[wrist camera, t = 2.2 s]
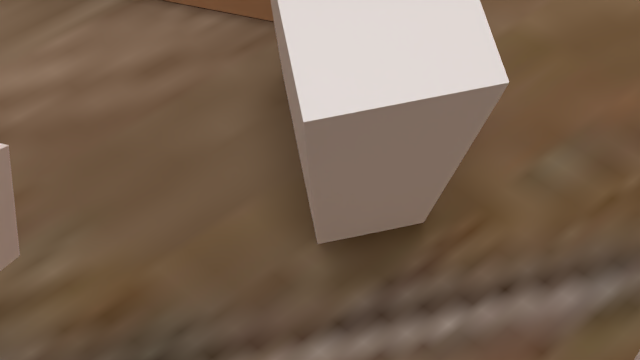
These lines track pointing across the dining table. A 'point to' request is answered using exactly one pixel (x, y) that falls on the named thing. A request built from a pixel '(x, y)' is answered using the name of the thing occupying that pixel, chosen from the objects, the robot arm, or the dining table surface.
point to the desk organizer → (235, 7)
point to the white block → (384, 103)
